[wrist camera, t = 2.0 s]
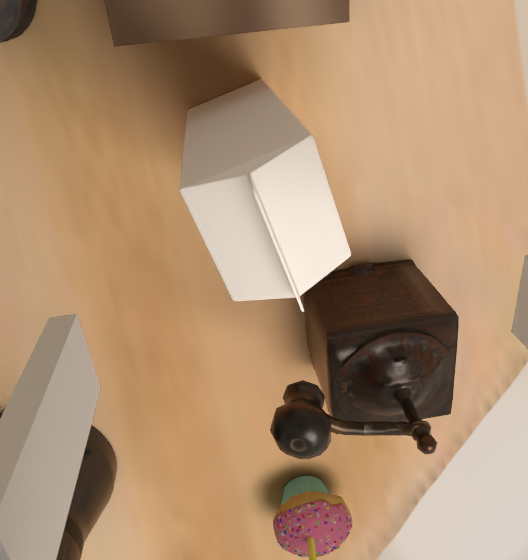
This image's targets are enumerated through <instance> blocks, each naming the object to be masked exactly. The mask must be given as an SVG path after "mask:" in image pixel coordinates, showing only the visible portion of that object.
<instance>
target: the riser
mask: <svg viewBox="0 0 528 560" xmlns="http://www.w3.org/2000/svg"><path fill="white" fill-rule="evenodd" d="M105 5H106V10H107V14H108V19H109V24H110V29H111V33H112V38H113V43H114V47H115V46H124V45H134V44H143V43H153V42H163V41H172V40H182V39H191V38H201V37H210V36H220V35H229V34H239V33H248V32H258V31H267V30H277V29H287V28H296V27H306V26H315V25H325V24H334V23H344V22H349V0H105Z"/></svg>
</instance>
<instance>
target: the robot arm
mask: <svg viewBox="0 0 528 560" xmlns="http://www.w3.org/2000/svg"><path fill="white" fill-rule="evenodd" d="M511 332H512V333H513V334H514V335H515V336H516V337H517V338H518V339H519V340H520V341H521V342H522V343H523V344H524V345H525V346H526V348H527V349H528V255H525V258H524V264H523V269H522V275H521V281H520V286H519V292H518V297H517V303H516V308H515V314H514V320H513V325H512V331H511ZM100 390H101V389H100V385H99V382H98V379H97V376H96V373H95V370H94V367H93V363H92V360H91V357H90V354H89V351H88V348H87V344H86V341H85V338H84V335H83V332H82V329H81V326H80V322H79V319H78V316H77V314H74V315H66V316H59V317H51V318H49V319H48V322H47V324H46V326H45V328H44V330H43V332H42V334H41V336H40V338H39V340H38V342H37V344H36V346H35V348H34V350H33V352H32V354H31V356H30V359H29V361H28V363H27V365H26V367H25V369H24V371H23V373H22V375H21V377H20V379H19V381H18V383H17V385H16V387H15V389H14V391H13V393H12V396H11V398H10V400H9V402H8V404H7V406H6V408H5V410H4V412H3V414H1V415H0V560H80V559H81V554H82V550H83V545H84V542H85V540H86V538H87V537H88V535H89V533H90V532H91V530H92V528H93V527H94V525H95V523H96V522H97V520H98V518H99V517H100V515H101V513H102V511H103V510H104V508H105V506H106V505H107V503H108V501H109V499H110V497H111V495H112V492H113V489H114V483H115V478H116V472H117V461H116V456H115V453H114V451H113V449H112V447H111V445H110V443H109V442H108V441H107V440H106V438H105V437H104V436H103V435H102V434H101V433H100V432H98V431H97V430H96V429H95V428H93V427H92V426H91V424H92V421H93V417H94V413H95V409H96V405H97V401H98V398H99V394H100Z"/></svg>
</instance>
